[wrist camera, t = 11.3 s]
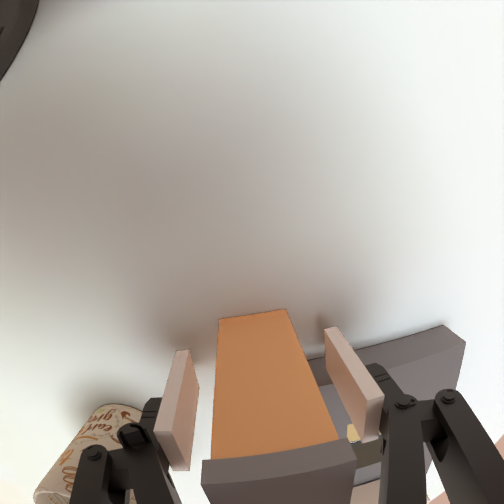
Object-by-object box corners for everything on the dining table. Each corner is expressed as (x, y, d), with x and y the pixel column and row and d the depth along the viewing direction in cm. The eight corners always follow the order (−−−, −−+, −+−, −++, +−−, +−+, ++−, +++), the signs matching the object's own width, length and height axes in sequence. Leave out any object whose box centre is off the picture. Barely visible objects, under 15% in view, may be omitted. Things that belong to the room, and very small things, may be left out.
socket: (291, 363, 20) (300, 390, 17) (443, 325, 20) (466, 341, 17) (303, 517, 25) (308, 537, 22) (402, 488, 25) (411, 505, 22)
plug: (215, 316, 18) (200, 484, 7) (288, 305, 19) (357, 459, 7) (228, 375, 19) (230, 538, 8) (294, 365, 20) (346, 520, 8)
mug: (185, 408, 20) (167, 525, 10) (170, 492, 22) (159, 575, 13) (77, 377, 19) (17, 471, 9) (88, 469, 21) (59, 544, 12)
